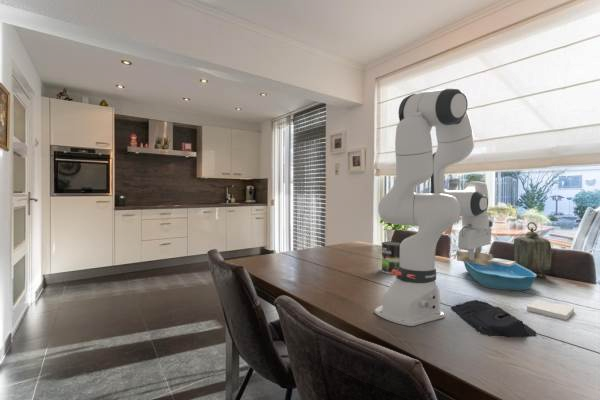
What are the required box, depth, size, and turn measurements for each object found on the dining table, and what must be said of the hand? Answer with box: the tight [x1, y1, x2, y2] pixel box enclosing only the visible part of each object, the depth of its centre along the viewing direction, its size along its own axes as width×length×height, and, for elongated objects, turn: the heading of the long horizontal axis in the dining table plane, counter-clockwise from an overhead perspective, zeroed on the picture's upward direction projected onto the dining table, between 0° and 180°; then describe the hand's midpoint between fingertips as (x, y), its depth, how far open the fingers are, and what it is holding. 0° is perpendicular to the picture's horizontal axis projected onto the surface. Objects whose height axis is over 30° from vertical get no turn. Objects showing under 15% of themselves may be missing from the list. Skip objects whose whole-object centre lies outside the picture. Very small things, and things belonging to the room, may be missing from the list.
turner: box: [456, 249, 516, 266], centre depth 117 cm, size 19×6×4 cm, turn 37°
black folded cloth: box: [450, 299, 537, 338], centre depth 94 cm, size 15×22×5 cm
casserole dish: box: [463, 257, 538, 291], centre depth 137 cm, size 37×22×7 cm, turn 166°
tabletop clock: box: [512, 221, 552, 279], centre depth 145 cm, size 14×9×25 cm, turn 171°
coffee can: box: [381, 241, 401, 275], centre depth 152 cm, size 10×10×14 cm
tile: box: [526, 299, 575, 321], centre depth 101 cm, size 2×10×10 cm
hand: (474, 258), depth 120 cm, fingers closed on turner, 3 cm apart
